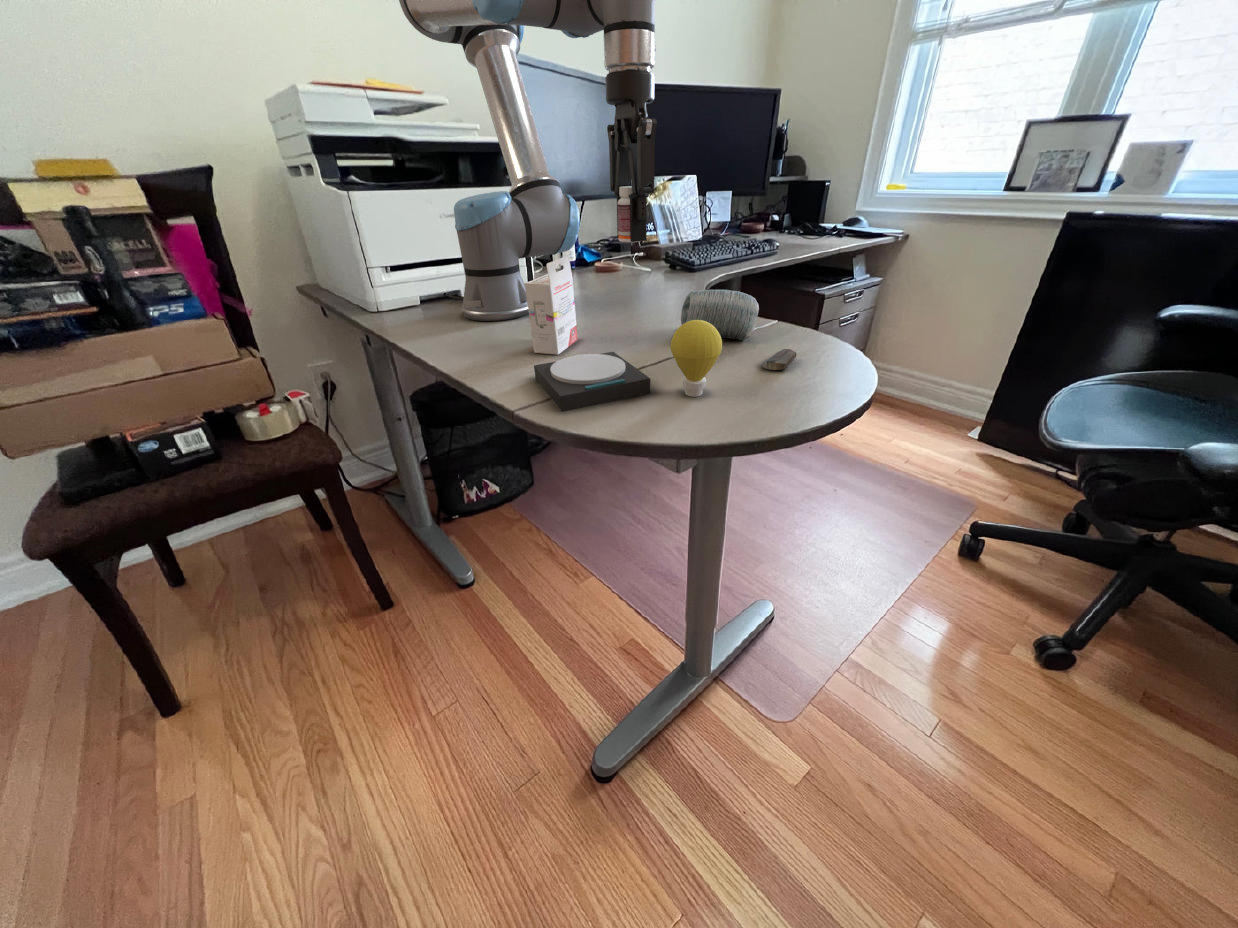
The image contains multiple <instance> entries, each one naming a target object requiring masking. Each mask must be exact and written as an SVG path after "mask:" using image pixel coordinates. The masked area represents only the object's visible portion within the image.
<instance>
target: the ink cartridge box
mask: <svg viewBox="0 0 1238 928" xmlns="http://www.w3.org/2000/svg"><path fill="white" fill-rule="evenodd" d="M570 261H571V260H570V256H569V255H566V256H563V257H559V258H558V259H554V260H552V261H550V262H547V263H546V271H547V273H546V274H544V275H541V276H539V277H536V278H534V279H532V280H530V281H526V282H524V285H525V291H526V297H527V305H528V311H529V314H528V317H529V324H530V332H531V337H532V339H531V340H532V346H533V353H534V354H545V355H556V356H557V355H560V354H561V353H563V352H564V351H565V350H567V349H568V348H569V347H571V346H572V345H573V344H575V343H576V342H577V341H578V326H577V315H576V303H575V302H576V301H575V294H574V293H575V291H574V279H573V273H572V267H571V262H570ZM559 266H560V267H562V269H561V270H559V271H557V268H559Z"/></svg>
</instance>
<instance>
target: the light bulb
mask: <svg viewBox="0 0 1238 928" xmlns="http://www.w3.org/2000/svg"><path fill="white" fill-rule="evenodd" d="M722 349H723V338H722V337H721V336H720V334H719V332H718V331H717V329H716V328H715V327H714V326H713V325H712V324H710V323H708V322H706V321H703V320H692V321H688V322H686V323H684V324H683V325H682V324H681V325H680V326H679V327H678V328H677V329H676V330H675V331H674V334H673V336H672V337H671V341H670V351H671V352H670V353H671V354H672V357H673V358H674V361H675V363H676V366H677V367H678V368H679V370H680V371H681V373H682V374H683V376H684V377H682V381H681V383H682V385H681V386H682V388H684V389H685V390H684V394H685V395H686V396H688V397H692V398H693V397H695V398H697V397H700V396H702V395H703V389H705V388H706V387H707V378H706V377H705V376H706V375H707V374H708V373H709V371H711V369H712V368H713V366H714V365H715V364H716V362H717V360H718V358H719V357H720V355H721V353H722Z"/></svg>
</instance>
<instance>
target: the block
mask: <svg viewBox="0 0 1238 928" xmlns="http://www.w3.org/2000/svg"><path fill="white" fill-rule="evenodd" d="M796 358H797V352H796V351H794V350H793V349H791V348H783V349H781V350H779V351H777V352H776V353H774V354H773V355H771V356H770V357H768V359H766V360H764V361H763V363H762V366H763V368H764V369H766V370H770V371H779V370H785V369H787V368H788V367H789V366H790V365H791V364H792V362H793V361H795V359H796Z"/></svg>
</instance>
